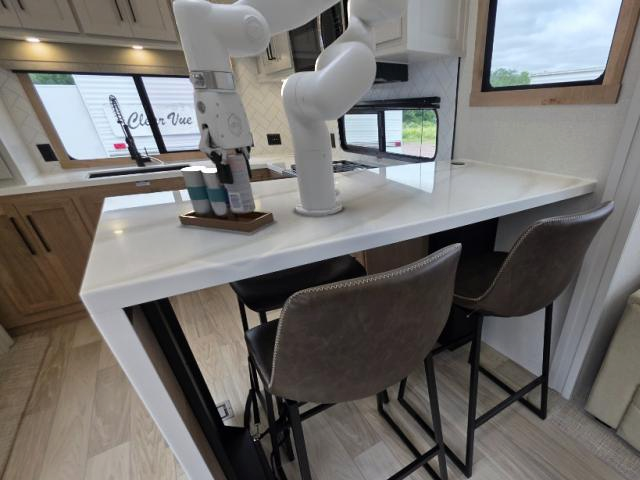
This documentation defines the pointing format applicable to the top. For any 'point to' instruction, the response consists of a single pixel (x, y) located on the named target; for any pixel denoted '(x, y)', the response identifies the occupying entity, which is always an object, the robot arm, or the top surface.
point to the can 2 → (218, 196)
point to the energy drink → (239, 185)
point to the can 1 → (198, 192)
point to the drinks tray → (245, 224)
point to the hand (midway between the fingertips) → (236, 179)
